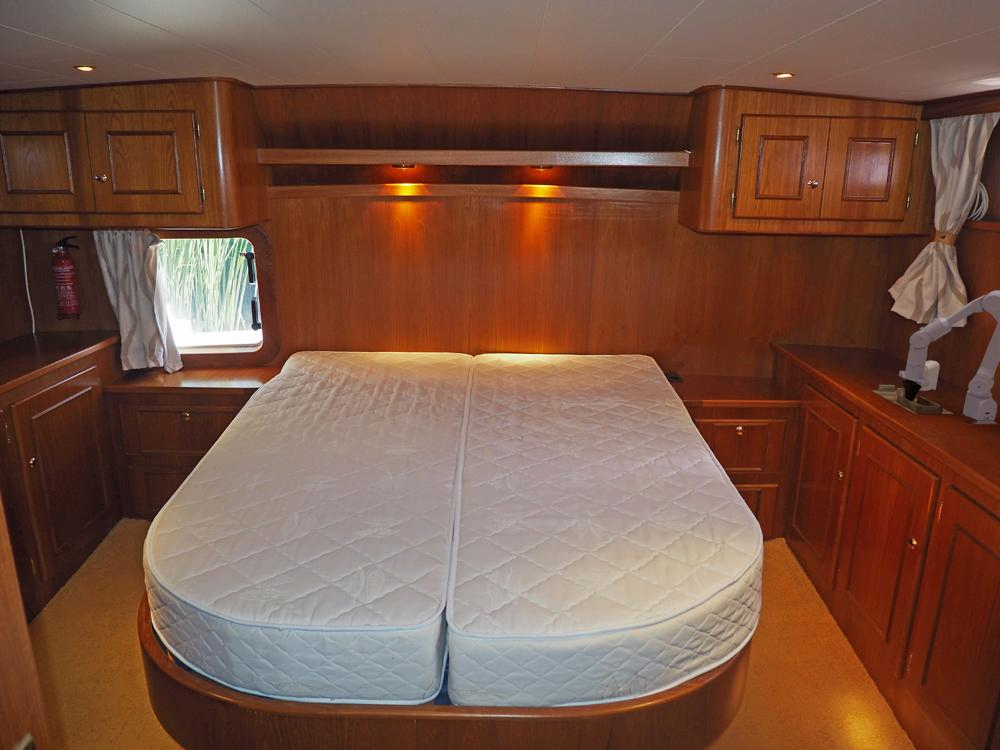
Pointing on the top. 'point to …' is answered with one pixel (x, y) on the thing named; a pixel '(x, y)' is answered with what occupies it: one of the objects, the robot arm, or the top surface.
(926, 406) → the cubby
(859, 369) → the top surface
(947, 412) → the board
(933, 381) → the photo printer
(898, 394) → the cube
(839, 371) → the top surface
